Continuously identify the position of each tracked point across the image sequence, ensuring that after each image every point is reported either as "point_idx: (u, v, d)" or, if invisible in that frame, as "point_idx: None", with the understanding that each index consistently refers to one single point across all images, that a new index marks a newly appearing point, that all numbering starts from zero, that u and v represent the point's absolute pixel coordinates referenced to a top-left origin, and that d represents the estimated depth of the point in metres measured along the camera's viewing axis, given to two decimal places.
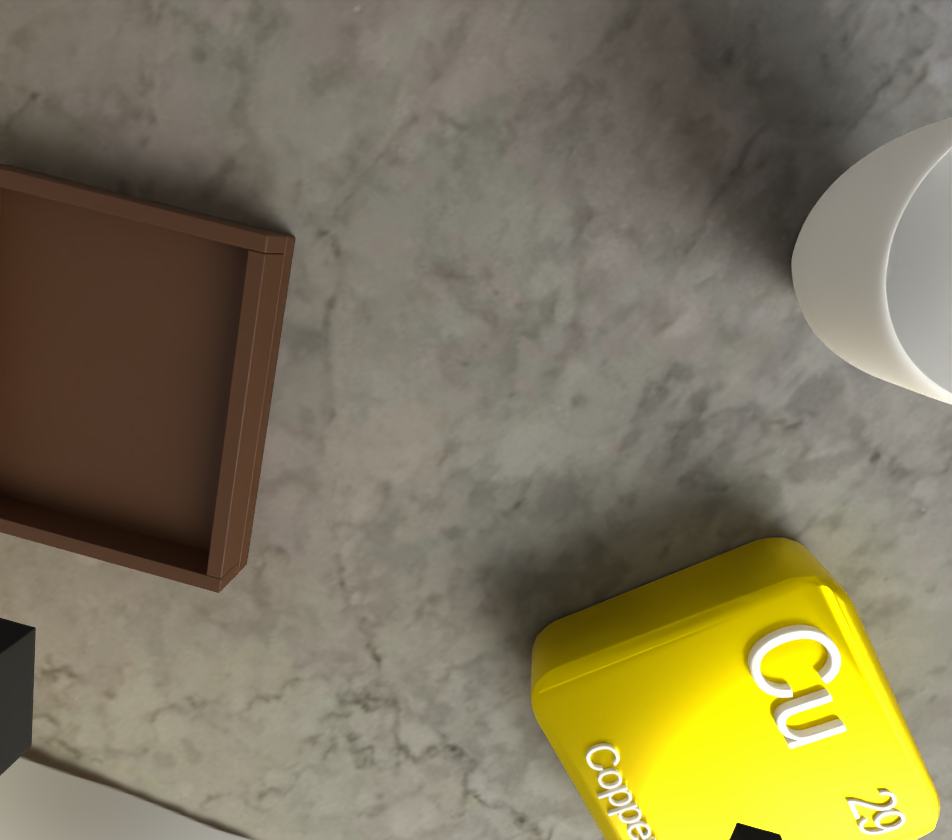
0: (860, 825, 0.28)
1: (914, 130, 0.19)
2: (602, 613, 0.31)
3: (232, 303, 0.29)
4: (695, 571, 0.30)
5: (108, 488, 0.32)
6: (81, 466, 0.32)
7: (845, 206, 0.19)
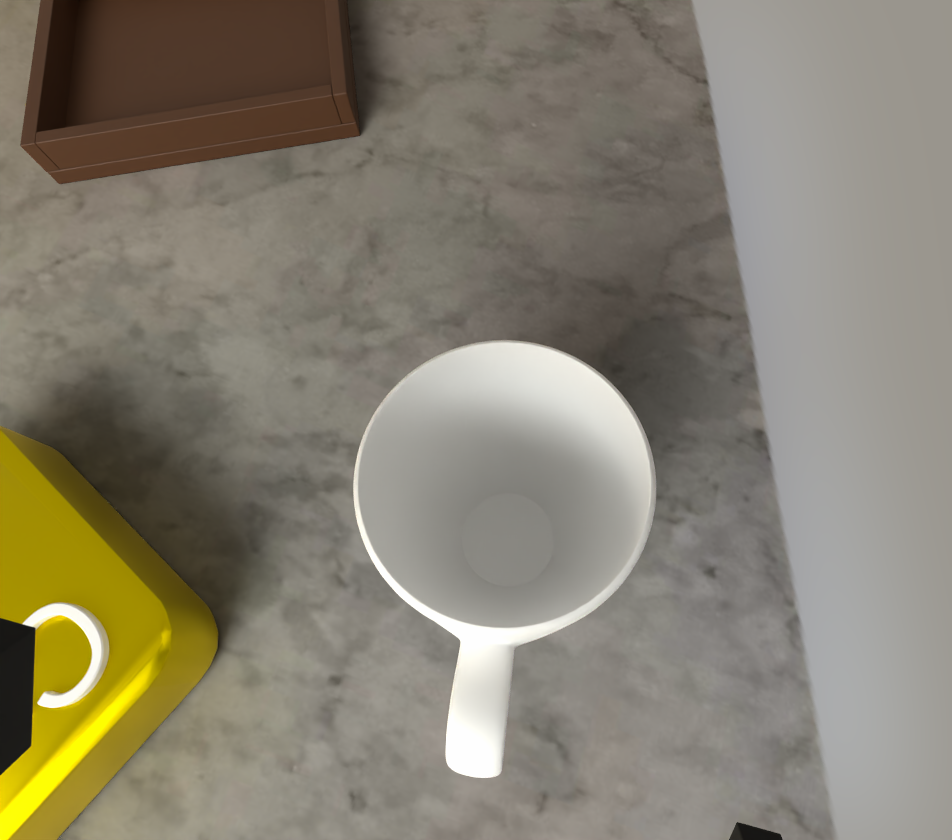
0: None
1: None
2: (79, 481, 0.28)
3: None
4: (153, 554, 0.27)
5: (105, 65, 0.37)
6: (119, 44, 0.38)
7: None
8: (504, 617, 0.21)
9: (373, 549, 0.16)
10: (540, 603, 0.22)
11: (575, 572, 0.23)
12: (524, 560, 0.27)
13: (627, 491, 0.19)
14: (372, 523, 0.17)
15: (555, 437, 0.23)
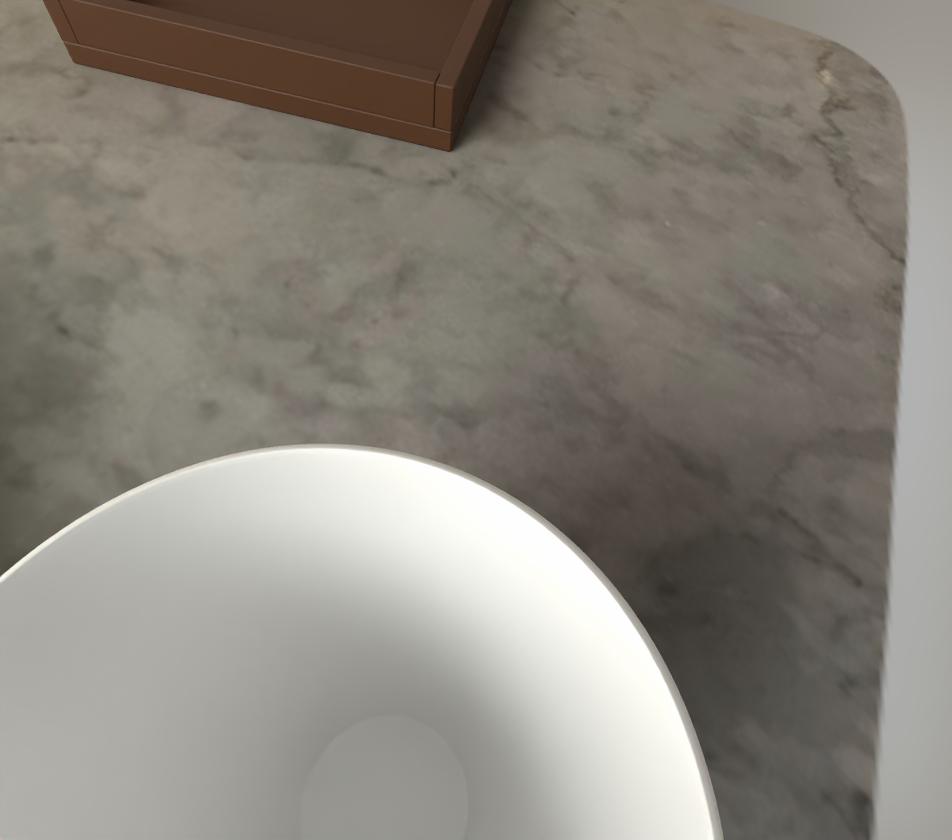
0: None
1: None
2: None
3: None
4: None
5: None
6: None
7: None
8: None
9: None
10: None
11: None
12: None
13: None
14: None
15: (519, 691, 0.11)
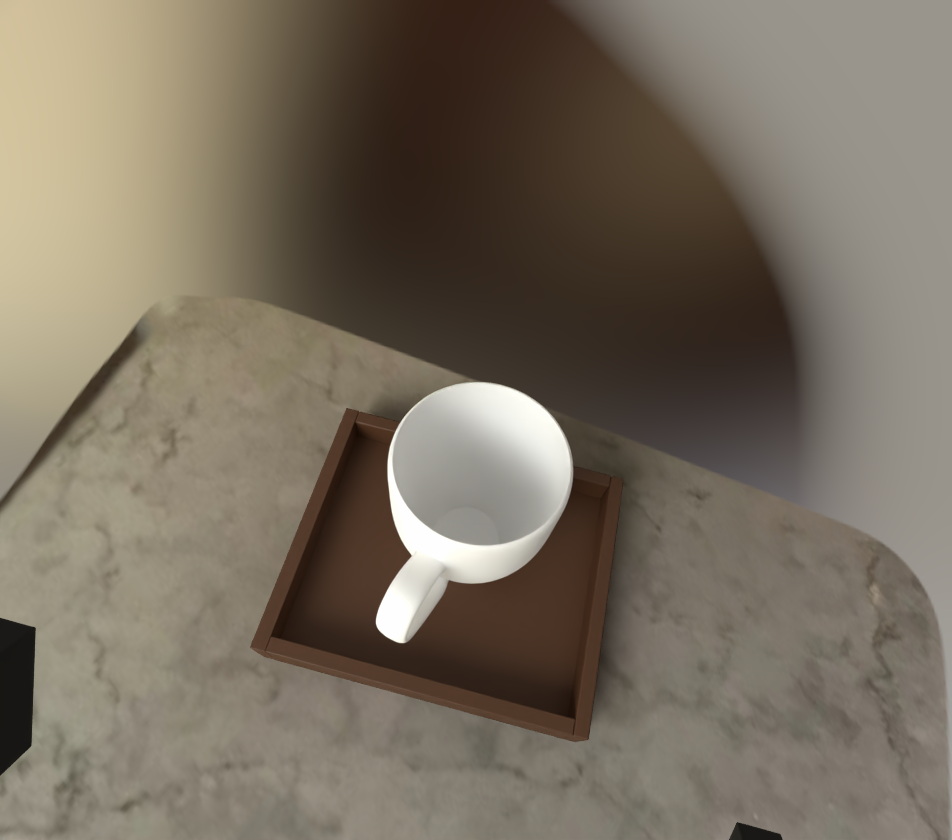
0: None
1: None
2: None
3: (520, 680, 0.34)
4: None
5: (356, 535, 0.37)
6: (377, 515, 0.37)
7: None
8: None
9: (392, 467, 0.27)
10: None
11: None
12: None
13: (552, 510, 0.29)
14: (395, 458, 0.28)
15: (524, 473, 0.33)
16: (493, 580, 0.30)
